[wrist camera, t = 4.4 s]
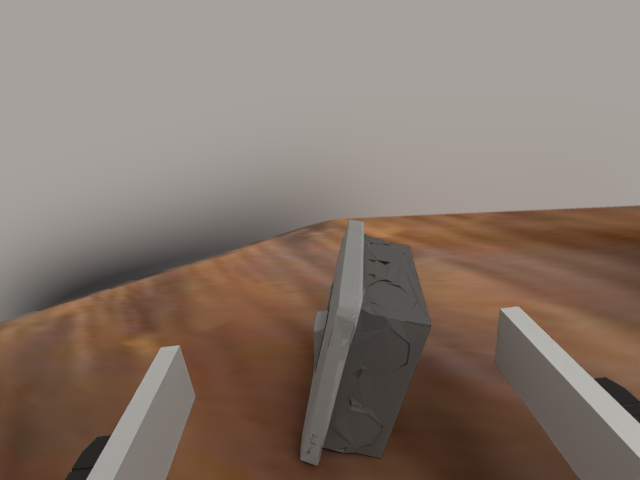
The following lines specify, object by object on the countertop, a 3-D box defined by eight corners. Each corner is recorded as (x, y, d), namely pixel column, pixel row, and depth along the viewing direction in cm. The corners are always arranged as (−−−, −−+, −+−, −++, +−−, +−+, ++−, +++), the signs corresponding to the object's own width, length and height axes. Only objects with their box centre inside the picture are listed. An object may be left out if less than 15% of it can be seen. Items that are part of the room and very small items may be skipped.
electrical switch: (321, 342, 25) (320, 215, 21) (397, 347, 24) (409, 218, 21) (297, 475, 16) (289, 300, 13) (413, 488, 16) (439, 309, 12)
